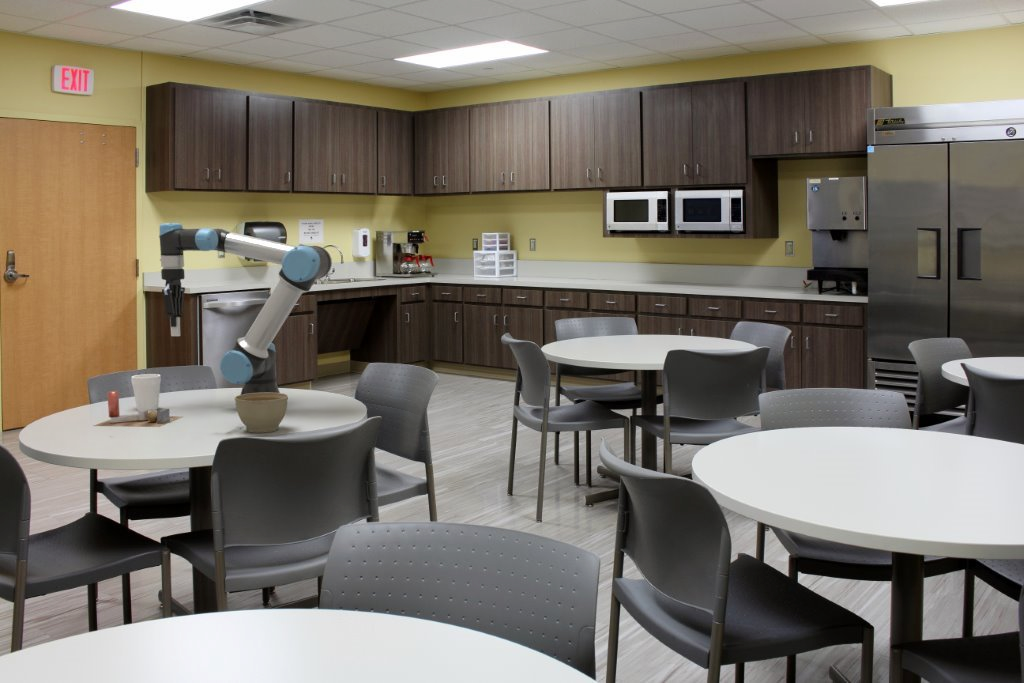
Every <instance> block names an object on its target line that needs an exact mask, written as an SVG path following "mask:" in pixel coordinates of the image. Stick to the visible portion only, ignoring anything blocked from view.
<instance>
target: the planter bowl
mask: <svg viewBox="0 0 1024 683" xmlns="http://www.w3.org/2000/svg"><path fill="white" fill-rule="evenodd" d="M288 400H289V395H288V394H286V393H281V392H280V393H270V392H263V393H249V394H243V395H240V394H239V395H236V396H235V397H234V401H235V407H236V408H235V409H236V412H237V415H238V417H239V419H240V421H241V423H242V424H243V425H244V426H245V428H246V431H247V432H248V433H249V432H250V433H257V434H260V433H270V432H275V431H278V430H279V425H280V424H281V423H282V421H283V419H284V418H285V416H286V412H287V409H288Z"/></svg>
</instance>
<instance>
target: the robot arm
mask: <svg viewBox="0 0 1024 683" xmlns="http://www.w3.org/2000/svg"><path fill="white" fill-rule="evenodd" d="M158 238H159V248H160V258H159V261H160V265H161V266H160V267H161V268H162V269H161V270H160V273H161V274H160V276H161V280H164V281H165V284H164V286H165V288H163V289H161V293H162V295H163V301H164V308H165V313H166V317H167V318H168V319H169V321H170V336H171V337H181V318H182V317H183V314H184V302H185V300H184V299H185V292H186V288H185V287H184V286H183V287H182V281H181V280H184V279H185V278H186V277H185V269H184V267H185V257H184V251H185V252H188V251H192V252H198V251H200V252H201V251H202V252H210V251H216V252H221V253H226V254H231V255H236V256H241V257H244V258H245V257H246V258H249V259H254V260H259V261H262V262H267V263H271V264H276V265H280V266H281V268H280V270H279V271H278V277H279V280H278V282H277V284H276V285H275V287H274V289H273V290H272V292H271V294H270V295H269V296H268V298H267V300H266V302H265V303H264V305H263V306H262V308H261V310H260V311H259V313H258V315H257V316H256V318H255V320H254V322H253V323H252V325H251V326H250V328H249V330H248V331H247V333H246V334H245V336H243V337H239V338H237V341H236V342H235V344H234V345H233V347H232V348H231V350H228V351H227V352H225V354H223V356H222V357H221V358H220V362H219V367H220V368H219V369H220V371H221V374H222V376H223V377H224V379H226V381H228V382H230V384H231V383H232V384H235V385H238V384H239V385H240V384H242V388H241V390H240V391H241V392H240V394H239V395H243V394H249V393H263V392H270V393H281V392H280V389H279V387H278V383H277V361H276V359H277V358H276V353H277V351H276V345H275V344H274V343H273V341H274V339H275V337H276V336H277V334H278V333H279V331H280V330H281V328H282V326H283V325H284V323H285V321H286V320H287V319H288V317H289V316H290V314H291V312H292V311H293V309H294V307H295V305H296V304H297V303H298V300H299V299H300V297H301V296H302V294H305V293H307V292H309V291H310V290H311V288H312V287H313V285H314V284H315V282H316V280H320V279H322V278H324V277H326V276H327V275H328V274H329V273H330V271H331V269H332V264H333V263H332V262H333V261H332V257H331V254H330V253H329V252H328V251H327V250H326V249H325V248H324V247H322V246H319V245H305V244H302V243H300V244H298V245H292V244H289V243H288V244H287V243H283V242H279V241H273V240H269V239H265V238H260V237H254V236H251V235H246V234H241V233H237V232H232V231H227V230H226V229H223V228H204V227H203V228H184V227H183V224H182V223H179V222H177V223H176V222H171V223H170V222H168V223H167V222H164V223H161V224H160V225H159V235H158Z"/></svg>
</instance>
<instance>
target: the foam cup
mask: <svg viewBox="0 0 1024 683" xmlns="http://www.w3.org/2000/svg"><path fill="white" fill-rule="evenodd" d="M161 377H162V376H161V374H159V373H158V374H156V373H146V374H145V373H144V374H135V375H132V376H131V378H130V379H131V385H132V389H133V390H132V391H133V394H134V399H135V400H134V401H135V404H136V410H137V411H140V410H148V412H150V411H157V409H158V408H159V402H160V400H159V399H160V390H161V382H162V378H161Z"/></svg>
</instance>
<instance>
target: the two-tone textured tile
mask: <svg viewBox="0 0 1024 683" xmlns="http://www.w3.org/2000/svg"><path fill="white" fill-rule="evenodd" d="M156 411H157V410H156ZM170 416H171V415H170V409H169V408H163V409H161V410H159V411H157V424H164V423H166V422H169V421H170Z"/></svg>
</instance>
